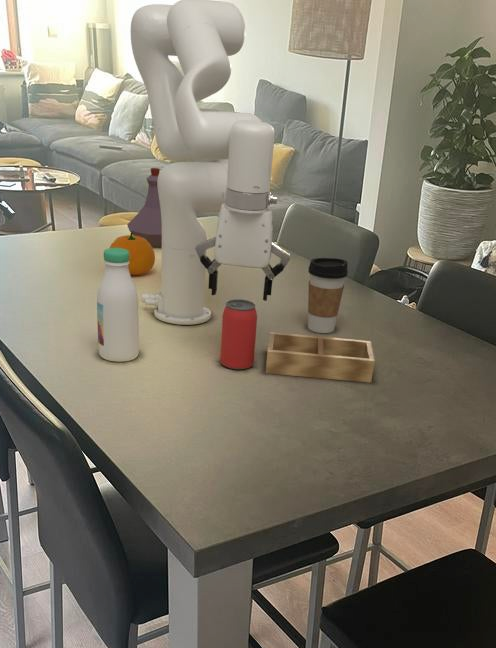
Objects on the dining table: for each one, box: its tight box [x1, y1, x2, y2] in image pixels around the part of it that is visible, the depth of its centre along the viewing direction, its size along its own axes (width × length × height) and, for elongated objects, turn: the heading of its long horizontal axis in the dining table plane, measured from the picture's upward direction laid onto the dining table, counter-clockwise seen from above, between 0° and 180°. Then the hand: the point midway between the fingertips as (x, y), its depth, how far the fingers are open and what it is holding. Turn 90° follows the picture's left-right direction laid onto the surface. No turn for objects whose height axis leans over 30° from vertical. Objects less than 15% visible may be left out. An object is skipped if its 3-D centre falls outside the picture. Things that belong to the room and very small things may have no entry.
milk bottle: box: [96, 247, 140, 363], centre depth 145 cm, size 8×8×20 cm
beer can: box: [219, 298, 258, 371], centre depth 148 cm, size 7×7×12 cm
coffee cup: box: [307, 257, 349, 334], centre depth 168 cm, size 8×8×15 cm
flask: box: [127, 167, 162, 248], centre depth 218 cm, size 16×16×20 cm
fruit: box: [109, 232, 156, 276], centre depth 195 cm, size 12×12×10 cm
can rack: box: [265, 331, 376, 384], centre depth 152 cm, size 20×11×4 cm, turn 87°
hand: (239, 295), depth 145 cm, fingers open, 9 cm apart
